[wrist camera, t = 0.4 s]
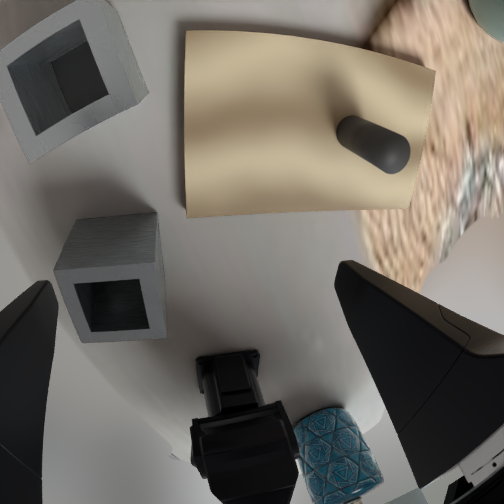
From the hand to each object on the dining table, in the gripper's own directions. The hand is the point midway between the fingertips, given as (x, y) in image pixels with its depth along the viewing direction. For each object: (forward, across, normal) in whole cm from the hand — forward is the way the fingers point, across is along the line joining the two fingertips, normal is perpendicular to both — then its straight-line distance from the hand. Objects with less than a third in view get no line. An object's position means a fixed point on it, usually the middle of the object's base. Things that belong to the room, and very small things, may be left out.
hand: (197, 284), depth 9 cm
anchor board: (+13, -9, -3) cm, 16 cm away
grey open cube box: (+13, +6, -6) cm, 15 cm away
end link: (+13, +5, +7) cm, 15 cm away
